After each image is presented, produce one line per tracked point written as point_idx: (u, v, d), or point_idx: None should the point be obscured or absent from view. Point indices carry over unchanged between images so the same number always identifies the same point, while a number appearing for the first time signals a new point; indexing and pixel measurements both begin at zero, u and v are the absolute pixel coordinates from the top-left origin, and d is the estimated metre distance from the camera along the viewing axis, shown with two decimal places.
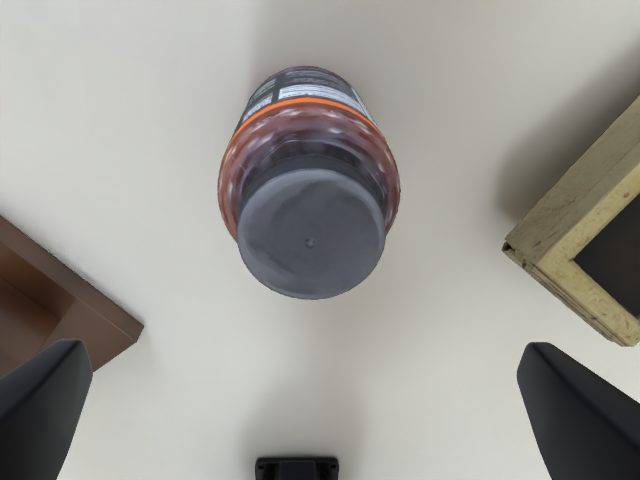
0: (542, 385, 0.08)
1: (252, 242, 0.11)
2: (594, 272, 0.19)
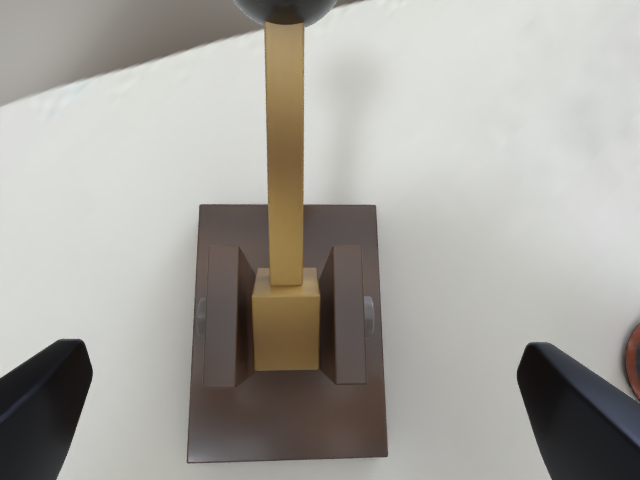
0: (542, 385, 0.08)
1: None
2: None
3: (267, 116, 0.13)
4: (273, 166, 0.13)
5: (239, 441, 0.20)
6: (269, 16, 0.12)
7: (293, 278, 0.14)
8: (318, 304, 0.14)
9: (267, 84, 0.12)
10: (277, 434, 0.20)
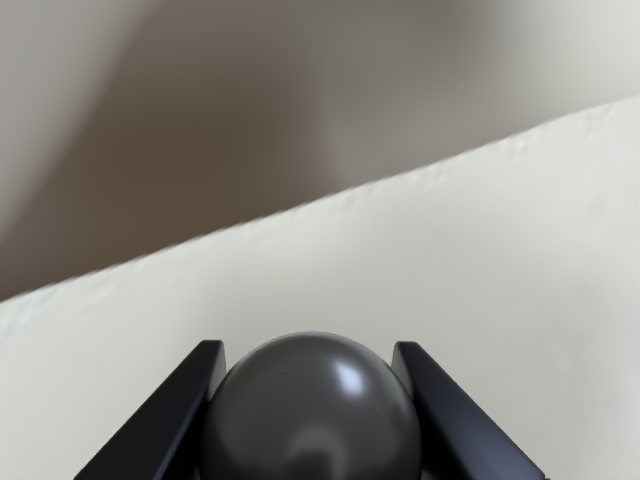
0: None
1: None
2: None
3: None
4: None
5: None
6: None
7: None
8: None
9: None
10: None
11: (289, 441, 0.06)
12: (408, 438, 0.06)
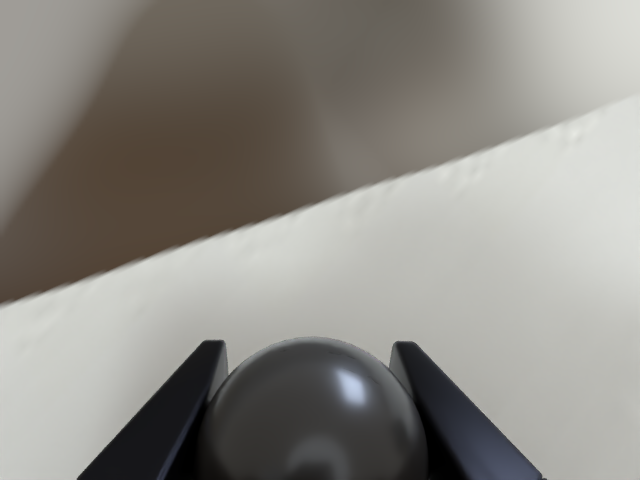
0: None
1: None
2: None
3: None
4: None
5: None
6: None
7: None
8: None
9: None
10: None
11: (290, 396, 0.06)
12: (409, 414, 0.06)
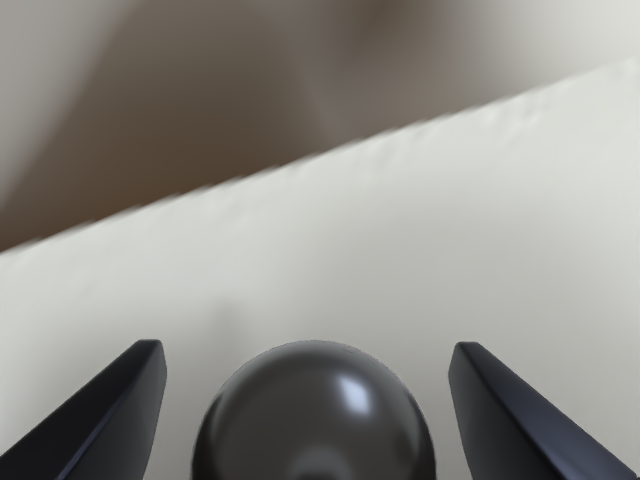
0: (466, 385, 0.08)
1: None
2: None
3: None
4: None
5: None
6: None
7: None
8: None
9: None
10: None
11: (292, 365, 0.06)
12: (409, 398, 0.06)
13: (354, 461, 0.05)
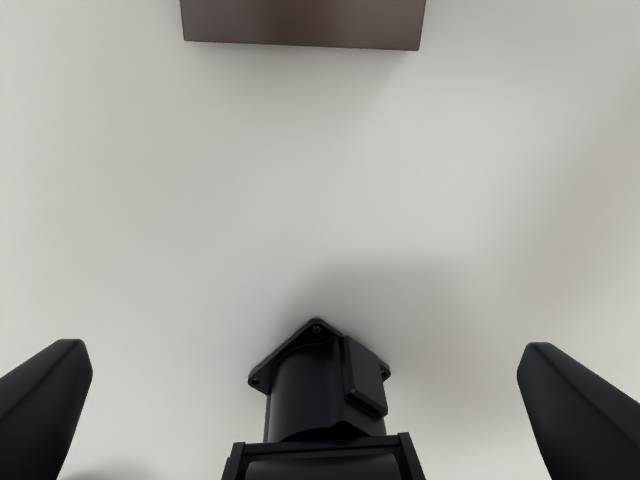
0: (542, 385, 0.08)
1: None
2: None
3: None
4: None
5: (243, 19, 0.16)
6: None
7: None
8: None
9: None
10: (289, 13, 0.16)
11: None
12: None
13: None
